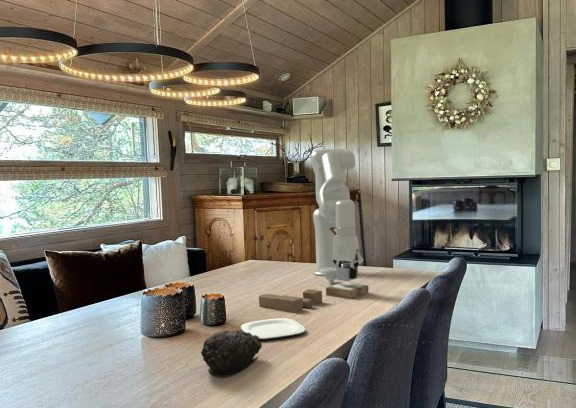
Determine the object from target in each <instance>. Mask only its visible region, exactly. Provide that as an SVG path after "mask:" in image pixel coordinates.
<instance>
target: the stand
mask: <svg viewBox="0 0 576 408" xmlns="http://www.w3.org/2000/svg"><path fill="white" fill-rule="evenodd" d="M367 294H369V285H367V284H364V283H354V282H349V281H343V282H339V283H336V284H332V285H329V286H327V287H325V295H326V296H329V297H335V298H336V297H337V298H341V299H342V298H343V299H349V300H353V299H356V298H359V297H362V296H364V295H365V296H366V295H367Z"/></svg>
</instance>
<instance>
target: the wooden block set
mask: <svg viewBox="0 0 576 408" xmlns="http://www.w3.org/2000/svg"><path fill="white" fill-rule="evenodd" d="M319 303H320V304H322V303H323V290H320V289H306V290H304V291H303V292H302V297H300V296H291V295H278V294H274V293H273V294H271V293H265V294H259V295H258V305H259V307H262V308H267V309H273V310H277V311H282V312H289V313H294V314H295V313H298V312H301V311H304V308H305V309H311V308H313V307H314V306H316V304H317V305H319ZM313 305H314V306H313Z"/></svg>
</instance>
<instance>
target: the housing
mask: <svg viewBox="0 0 576 408" xmlns="http://www.w3.org/2000/svg"><path fill="white" fill-rule="evenodd" d="M351 269H352V267H351V264H350V262H343V263H342V264H341V266H339V267H336V272H337V279H336V280H337V281H343V282H350V281H354V280H357V279H359V267H358V268H357V276H356V278H354V279H351Z"/></svg>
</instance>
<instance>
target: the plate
mask: <svg viewBox="0 0 576 408" xmlns="http://www.w3.org/2000/svg"><path fill="white" fill-rule="evenodd" d="M240 330H241V331H244V332H246V333H248V332H249V333H251V334H252V335H253V336H254V335H257V336H258V337H259V340H275V339H282V338H289V337H291V336H297V335H301V334H303V333H305V332H306V328H305V327H304V326H303V325H302V323H299V322H298V321H297V320H295V319H292V318H287V317H285V318H284V317H283V318H282V317H280V318H279V317H278V318H269V319H263V320H262V319H261V320H255V321H249V322H245V323H243V324H241V326H240Z"/></svg>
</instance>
